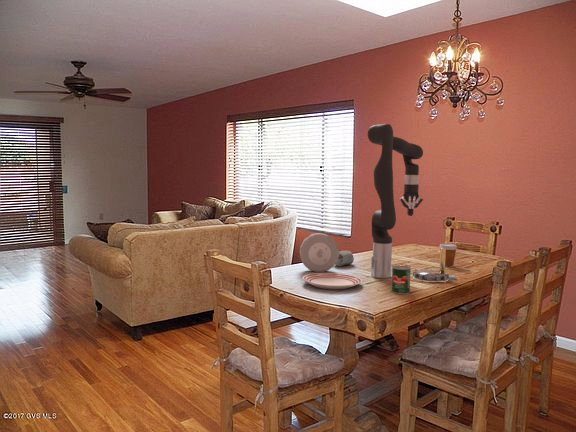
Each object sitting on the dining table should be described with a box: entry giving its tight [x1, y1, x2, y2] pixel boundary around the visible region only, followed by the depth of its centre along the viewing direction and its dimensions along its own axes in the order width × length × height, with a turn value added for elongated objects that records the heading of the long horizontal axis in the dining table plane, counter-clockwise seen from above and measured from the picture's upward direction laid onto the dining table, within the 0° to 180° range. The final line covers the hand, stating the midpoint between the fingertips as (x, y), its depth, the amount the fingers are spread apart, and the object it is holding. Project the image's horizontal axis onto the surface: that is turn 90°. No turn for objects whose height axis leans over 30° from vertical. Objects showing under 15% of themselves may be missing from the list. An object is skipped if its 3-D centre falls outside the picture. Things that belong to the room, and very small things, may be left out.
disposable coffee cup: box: [438, 243, 458, 267], centre depth 261 cm, size 10×10×12 cm
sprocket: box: [412, 248, 450, 281], centre depth 228 cm, size 17×17×14 cm
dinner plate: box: [302, 272, 363, 290], centre depth 215 cm, size 28×27×3 cm
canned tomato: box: [391, 265, 412, 295], centre depth 203 cm, size 8×8×11 cm
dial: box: [299, 232, 340, 273], centre depth 242 cm, size 20×12×20 cm, turn 92°
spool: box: [334, 250, 355, 268], centre depth 259 cm, size 14×10×10 cm
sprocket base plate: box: [412, 275, 450, 283], centre depth 229 cm, size 17×17×1 cm
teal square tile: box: [449, 275, 457, 280], centre depth 230 cm, size 3×3×1 cm
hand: (410, 215), depth 250 cm, fingers closed
